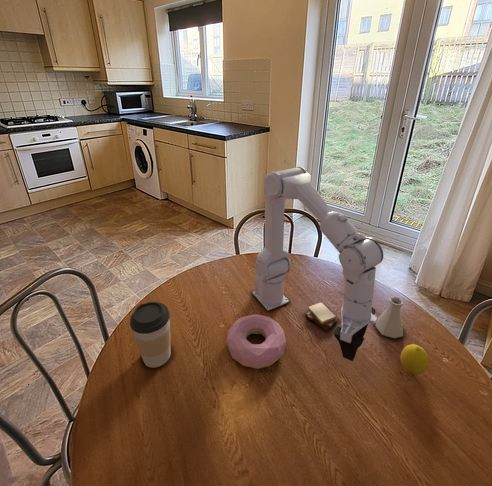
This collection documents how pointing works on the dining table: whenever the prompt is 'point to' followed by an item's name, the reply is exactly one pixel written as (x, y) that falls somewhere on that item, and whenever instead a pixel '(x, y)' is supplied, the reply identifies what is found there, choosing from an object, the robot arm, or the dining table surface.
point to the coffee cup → (152, 333)
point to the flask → (391, 319)
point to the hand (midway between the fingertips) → (353, 346)
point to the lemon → (414, 359)
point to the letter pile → (321, 316)
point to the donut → (256, 353)
